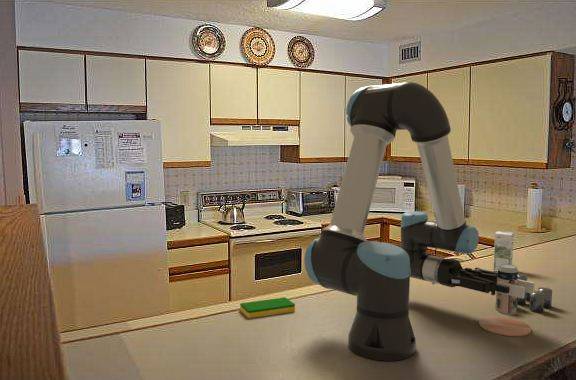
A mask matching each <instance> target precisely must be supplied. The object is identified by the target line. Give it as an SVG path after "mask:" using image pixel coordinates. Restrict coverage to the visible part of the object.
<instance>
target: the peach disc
mask: <svg viewBox="0 0 576 380" xmlns="http://www.w3.org/2000/svg"><path fill="white" fill-rule="evenodd" d="M479 327H480V328H482V329H483V330H485V331H486V332H490V333H492V334H496V335H500V336H503V337H504V336H507V337H525V336H528V335H530V334H531V332H532V327H531V326H530V325H529V324H528V323H526V322H523V321H521V320H519V319H515V318H511V317H506V316H485V317H482V318H480V320H479Z"/></svg>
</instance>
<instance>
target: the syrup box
mask: <svg viewBox="0 0 576 380" xmlns="http://www.w3.org/2000/svg"><path fill="white" fill-rule="evenodd" d="M514 235H515V233H514V232H513V231H504V230H497V231H496V232H494V249H493V250H494V251H493V271H494V270H498V268H499V266H500V265H502V264H508V265H513V257H514V255H513V251H514V240H515V238H514Z"/></svg>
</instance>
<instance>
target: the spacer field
mask: <svg viewBox="0 0 576 380" xmlns="http://www.w3.org/2000/svg"><path fill="white" fill-rule="evenodd" d="M518 279H519V280H524V281H528V275H527V274H524V273H523V274H522V273H518ZM535 285H536V284H535V283H534V286H535ZM537 289H538V290H534V293H533V294H531V293H526V292H525V295H524V298H518V297H517V306H516V310H518V306H525V305H527V304H526V303H527V302H529V309H528V310H529V311H530V312H533V313H541V314H543V313H544V311H545V310H544V309H551V308H552V302H553V288H552V289H551V288H549V287H538V288H537ZM496 296H497V291H495V297H496ZM495 310H496V307H495Z"/></svg>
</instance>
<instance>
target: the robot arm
mask: <svg viewBox="0 0 576 380" xmlns="http://www.w3.org/2000/svg"><path fill="white" fill-rule="evenodd" d="M345 111H346V113H345V114H346V115H347V117H346V121H347V123H348V125H349V126H350V130H349V132H351V134H352V137H353V138H352V139H353V140H352V144H351V147H350V150H349V153H348V158H347V163H346V165H345V169H344V172H343V176H342V179H341V182H340V187H339V190H338V194H337V198H336V201H335V205H334V208H333V212H332V216H331V218H330V219H331V220H330V223H329V224H328V226H326V227H323V228H322V229H321V233H320V235H319V237H318V238H315V239H313V240H312V241H311V242H310V243H309V244H308V246H307V247H306V249H305V254H304V269H305V271H306V274H307V277H308V278H309V279H310V281H312V283H314V284H316V285H318V286H321V287H323V288H324V289H328V290H333V291H337V292H341V293H344V294H347V295H350V296H355V297H356V311H355V312H356V313H355V315H354V319H353V321H352V324H351V327H350V329H349V333H348V339H347V340H348V342H347V345H348V348H349V349H350V350H351V352H353V353H354V352H355V354H356V353H357V355H358V354H359V355H358V356H360V355H361V357H363V358H366V357H367V358H366V359H371V360H376V361H385V362H387V361H388V362H390V361H392V362H393V361H402V360H405V359H408V358H411V357H412V356H413V355H414V354H416V347H417V346H416V344H417V341H416V337H415V333H414V330H413V326H412V324H411V319H410V315H409V312H410V310H409V308H410V307H409V306H410V285H411V283H410V282H411V281H410V280H411V278H413V279H415V280H416V279H417V280H421V281H426V282H429V283H431V284H432V285H436V284H437V285H441V286H445V287H449V288H455V287H460V288H464V289H469V290H473V291H476V292H481V293H485V294H490V295H491V296H496V291H497V293H501V294H506V295H510V296H514V297H518V298H524V295H525V292H526V293H531V294H533V293H534V291H535V285H534V284H535V282H533V281H528V280H527V281H524V280H519V279H518V285H513V284H509V283H504V282H500V281H498V282H497V273H498V272H497V271H494V270H493V271H491V270H487V269H482V268H480V267H474V269H473V268H471V267H464V268H463V266H462V264H461V262H460V261H459V260H456V259H451V258H445V257H442V256H437V255H431V254H428V248H430V249H439V250H444V251H449V252H453V253H456V254H457V253H459V254H472V253H474V252H475V250H476V249H477V248H478V244H479V238H480V236H479V235H480V234H479V231H478V229H477V227H475V226H473V225H469V224H467V221H466V218H465V212H464V209H463V204H462V197H461V194H460V190H459V185H458V184H459V183H458V180H457V175H456V169H455V166H454V161H453V154H452V150H451V146H450V142H449V137H448V136H449V135H450V134H451V132H452V131H451V130H452V129H451V126H450V125H451V124H450V119H449V117H448V114H447V112H446V110H445V109H444V106H443V104H442V103H441V102H440V100H439V99H438V98H437V96H436V95H435V94H434V93H433V92H432V91H431V90H429V89H428V88H427V87H425V86H424V85H422V84H419V83H417V82H412V81H405V82H397V83H390V84H389V83H388V84H381V85H380V84H372V85H367V86H364V87H363V86H362V87H360V88H359V89H356V90H355V91H354V92H353V93H352V94H351V96H350V97H349V99H348V101H347V105H346V109H345ZM398 130H399V131H402V130H407V131H408V133H409V135H410V137H411V141H412V142H414V143H415V144H416V145H417V149H418V154H419V156H420V157H419V158H420V162H421V167H422V170H423V175H424V177H425V181H426V182H425V183H426V186H427V190H428V194H429V198H430V203H431V205H432V211H433V215H434V220H435V221H434V220H429V218H428V213H426V212H423V211H405V212H404V213H402V215H401V220H400V221H401V222H400V246H398V245H396V244H392V243H388V242H383V241H381V242H380V241H375V240H373V241H371V240H370V241H369V240H367V238H366V236H365V235H364V232H365V228H366V224H367V222H368V221H367V220H368V216H369V212H370V209H371V206H372V205H371V204H372V201H373V198H374V194H375V190H376V186H377V182H378V179H379V174H380V172H381V171H380V170H381V168H382V163H383V160H384V157H385V152H386V149H387V146H388V145H390V144H392V143H393V142H394V141H395V139H396V134H397V131H398Z"/></svg>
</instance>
